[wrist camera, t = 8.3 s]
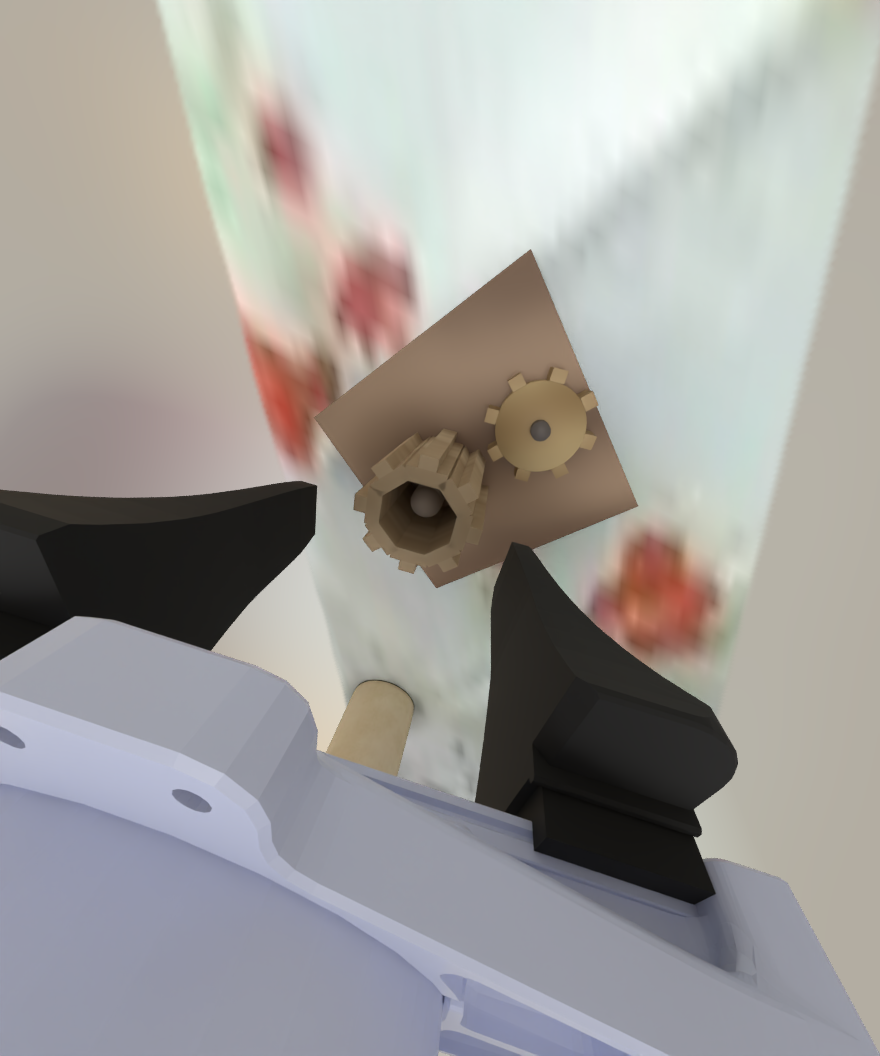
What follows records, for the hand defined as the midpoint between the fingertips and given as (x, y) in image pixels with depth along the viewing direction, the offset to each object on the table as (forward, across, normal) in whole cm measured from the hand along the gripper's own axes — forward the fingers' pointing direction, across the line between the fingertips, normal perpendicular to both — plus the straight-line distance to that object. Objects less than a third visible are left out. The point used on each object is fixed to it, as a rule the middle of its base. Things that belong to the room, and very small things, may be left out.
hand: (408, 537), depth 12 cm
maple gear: (+6, 0, 0) cm, 6 cm away
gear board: (+7, -1, -2) cm, 8 cm away
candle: (+8, 0, +22) cm, 23 cm away
